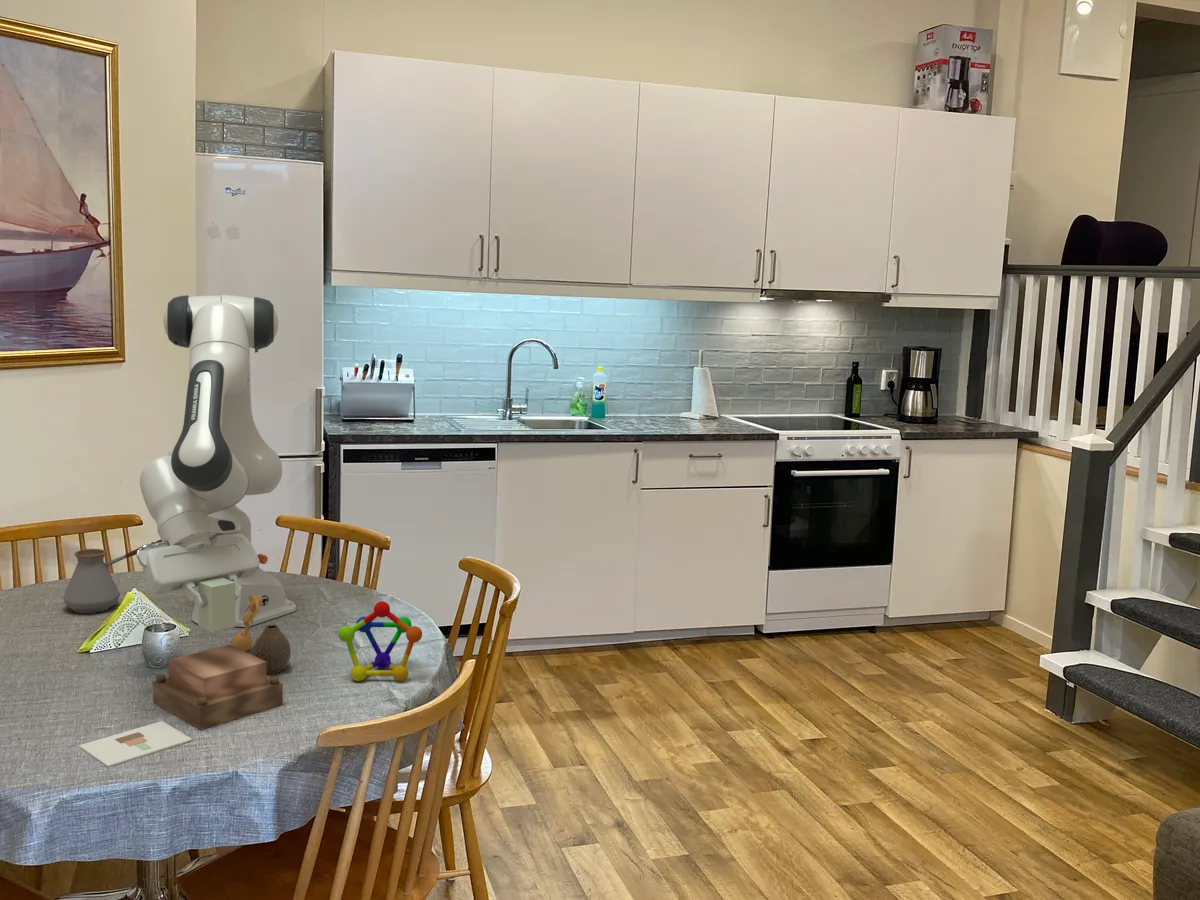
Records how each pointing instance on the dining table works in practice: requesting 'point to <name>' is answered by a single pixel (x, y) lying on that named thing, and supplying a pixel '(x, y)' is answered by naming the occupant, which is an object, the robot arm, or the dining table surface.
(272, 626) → the vase
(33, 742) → the dining table surface
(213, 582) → the upright grey-green brick
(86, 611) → the coffee pot
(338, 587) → the dining table surface
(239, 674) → the stacked wooden pedestal
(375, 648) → the educational toy
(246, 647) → the figurine
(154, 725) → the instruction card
